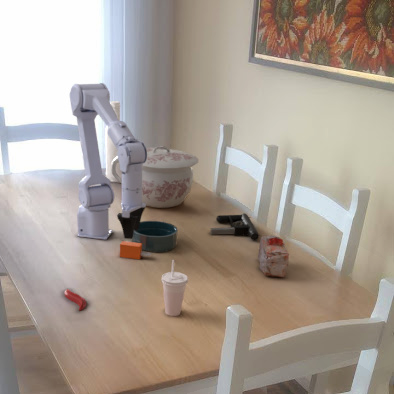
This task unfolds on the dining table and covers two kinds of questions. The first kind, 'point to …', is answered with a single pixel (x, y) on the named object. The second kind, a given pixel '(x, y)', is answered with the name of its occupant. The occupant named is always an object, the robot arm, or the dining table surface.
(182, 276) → the smoothie
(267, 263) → the food item
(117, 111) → the bottle
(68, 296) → the cayenne pepper
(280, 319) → the dining table surface
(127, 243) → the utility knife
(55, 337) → the dining table surface
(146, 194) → the chamber pot
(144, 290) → the dining table surface
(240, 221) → the machine pistol
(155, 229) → the bowl
